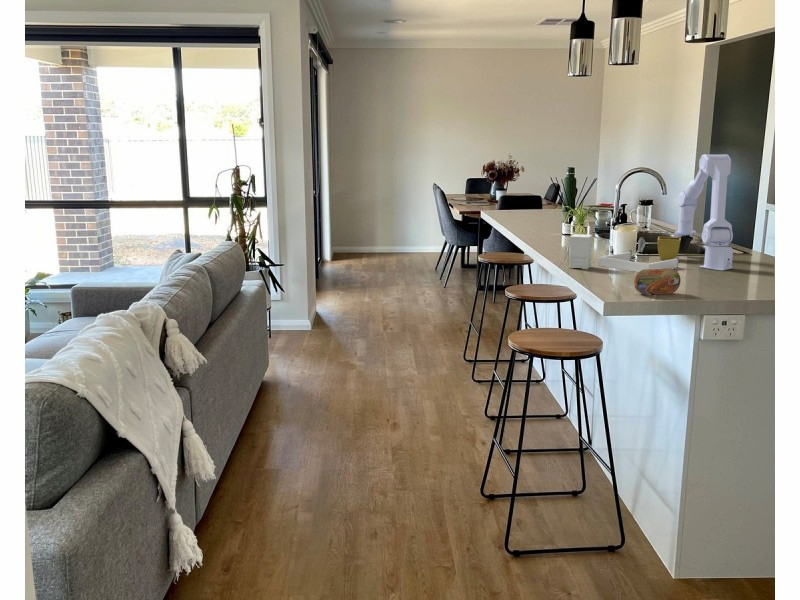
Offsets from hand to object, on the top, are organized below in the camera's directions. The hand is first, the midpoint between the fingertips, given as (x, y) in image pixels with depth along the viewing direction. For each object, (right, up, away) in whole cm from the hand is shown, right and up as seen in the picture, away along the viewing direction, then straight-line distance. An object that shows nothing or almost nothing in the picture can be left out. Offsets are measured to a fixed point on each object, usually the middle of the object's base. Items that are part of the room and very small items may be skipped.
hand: (683, 253), depth 295 cm
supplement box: (-51, -7, -25) cm, 57 cm away
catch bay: (-27, -7, -23) cm, 36 cm away
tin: (-38, -18, -72) cm, 83 cm away
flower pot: (-9, -3, -7) cm, 12 cm away
